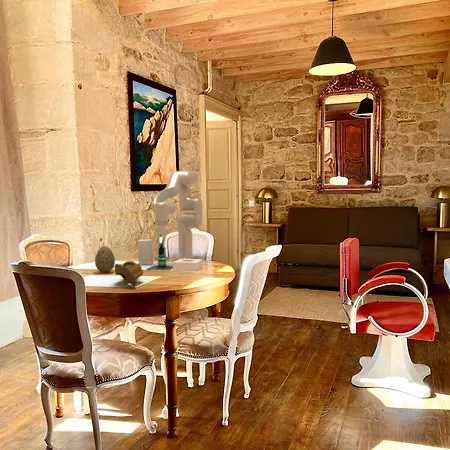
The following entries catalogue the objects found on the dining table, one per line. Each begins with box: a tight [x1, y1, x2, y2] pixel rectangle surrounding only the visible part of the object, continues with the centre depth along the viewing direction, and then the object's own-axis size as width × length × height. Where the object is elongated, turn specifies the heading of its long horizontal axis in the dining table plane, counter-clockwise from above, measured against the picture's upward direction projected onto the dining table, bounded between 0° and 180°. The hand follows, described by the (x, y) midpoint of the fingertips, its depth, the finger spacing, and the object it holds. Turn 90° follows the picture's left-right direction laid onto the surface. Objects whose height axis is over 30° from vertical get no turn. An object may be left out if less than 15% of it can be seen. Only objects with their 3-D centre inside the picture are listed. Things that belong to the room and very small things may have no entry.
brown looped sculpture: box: [114, 260, 144, 287], centre depth 212 cm, size 18×13×22 cm
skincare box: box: [137, 238, 155, 266], centre depth 271 cm, size 8×7×16 cm
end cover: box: [153, 246, 171, 268], centre depth 256 cm, size 9×9×12 cm
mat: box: [146, 264, 173, 271], centre depth 256 cm, size 14×14×1 cm
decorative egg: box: [94, 245, 116, 274], centre depth 242 cm, size 11×11×15 cm
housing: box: [172, 258, 203, 272], centre depth 253 cm, size 14×14×5 cm
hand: (161, 253), depth 256 cm, fingers open, 5 cm apart
